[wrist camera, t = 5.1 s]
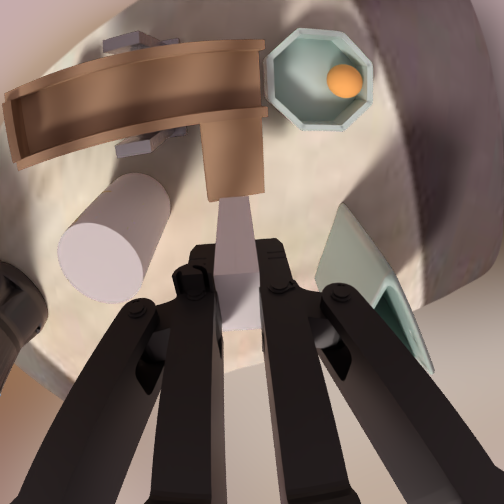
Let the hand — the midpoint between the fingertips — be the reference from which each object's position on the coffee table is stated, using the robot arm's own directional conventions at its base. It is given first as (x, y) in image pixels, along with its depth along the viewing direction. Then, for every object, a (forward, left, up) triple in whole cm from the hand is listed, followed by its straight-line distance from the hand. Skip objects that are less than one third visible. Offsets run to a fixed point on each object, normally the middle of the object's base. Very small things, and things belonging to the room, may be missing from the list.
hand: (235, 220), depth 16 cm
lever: (-7, +4, -8) cm, 12 cm away
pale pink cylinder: (-12, -5, -16) cm, 21 cm away
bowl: (+8, +8, -16) cm, 20 cm away
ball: (+11, +8, -14) cm, 19 cm away
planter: (+13, -15, -16) cm, 26 cm away
